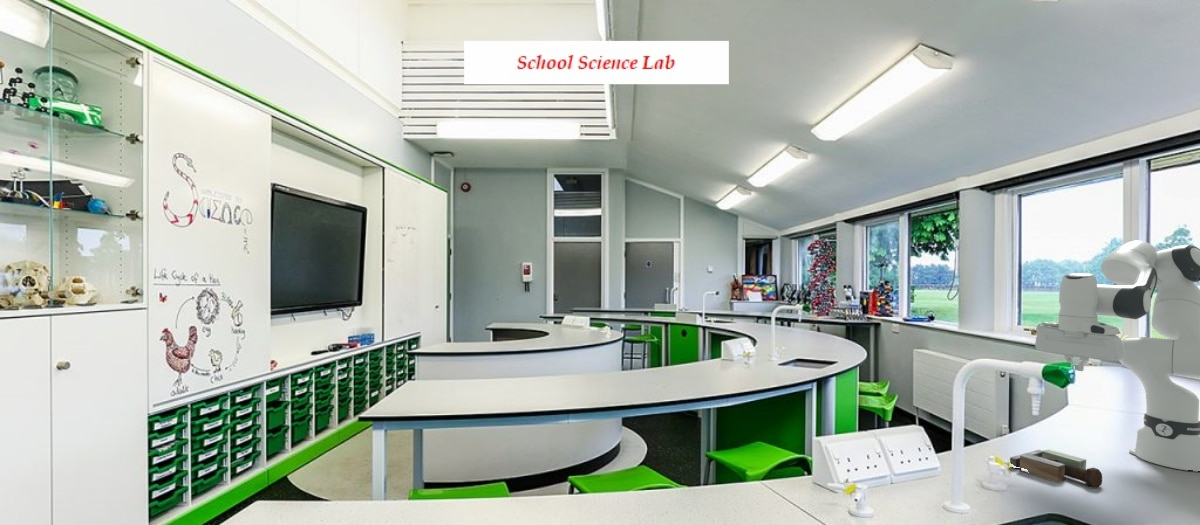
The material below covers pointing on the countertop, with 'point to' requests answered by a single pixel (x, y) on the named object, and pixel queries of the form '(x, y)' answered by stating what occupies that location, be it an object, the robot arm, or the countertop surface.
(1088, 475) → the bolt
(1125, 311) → the robot arm
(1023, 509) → the countertop surface
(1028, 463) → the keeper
